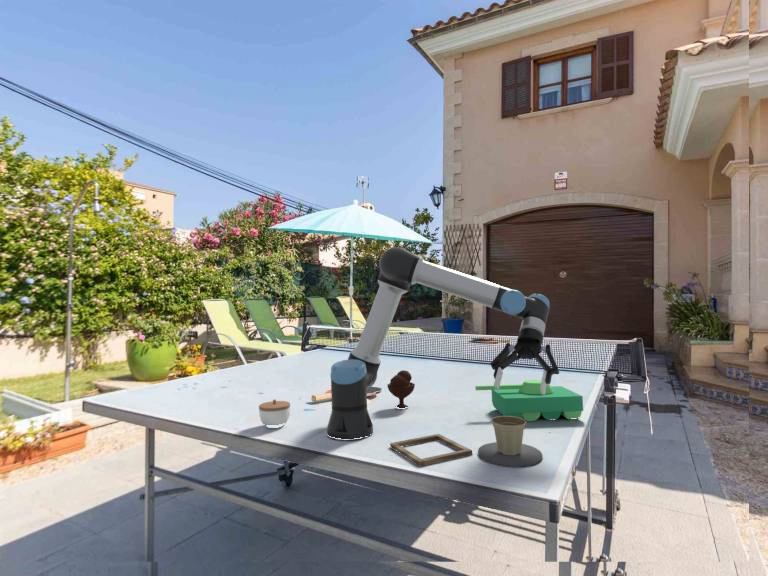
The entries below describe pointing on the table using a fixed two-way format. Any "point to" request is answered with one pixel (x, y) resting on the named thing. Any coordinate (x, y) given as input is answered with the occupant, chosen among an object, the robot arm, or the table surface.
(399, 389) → the ice cream bowl
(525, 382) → the toy tank
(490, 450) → the rubber mat
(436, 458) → the walnut frame
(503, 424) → the flower pot
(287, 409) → the lidded jar
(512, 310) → the robot arm
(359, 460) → the table surface
